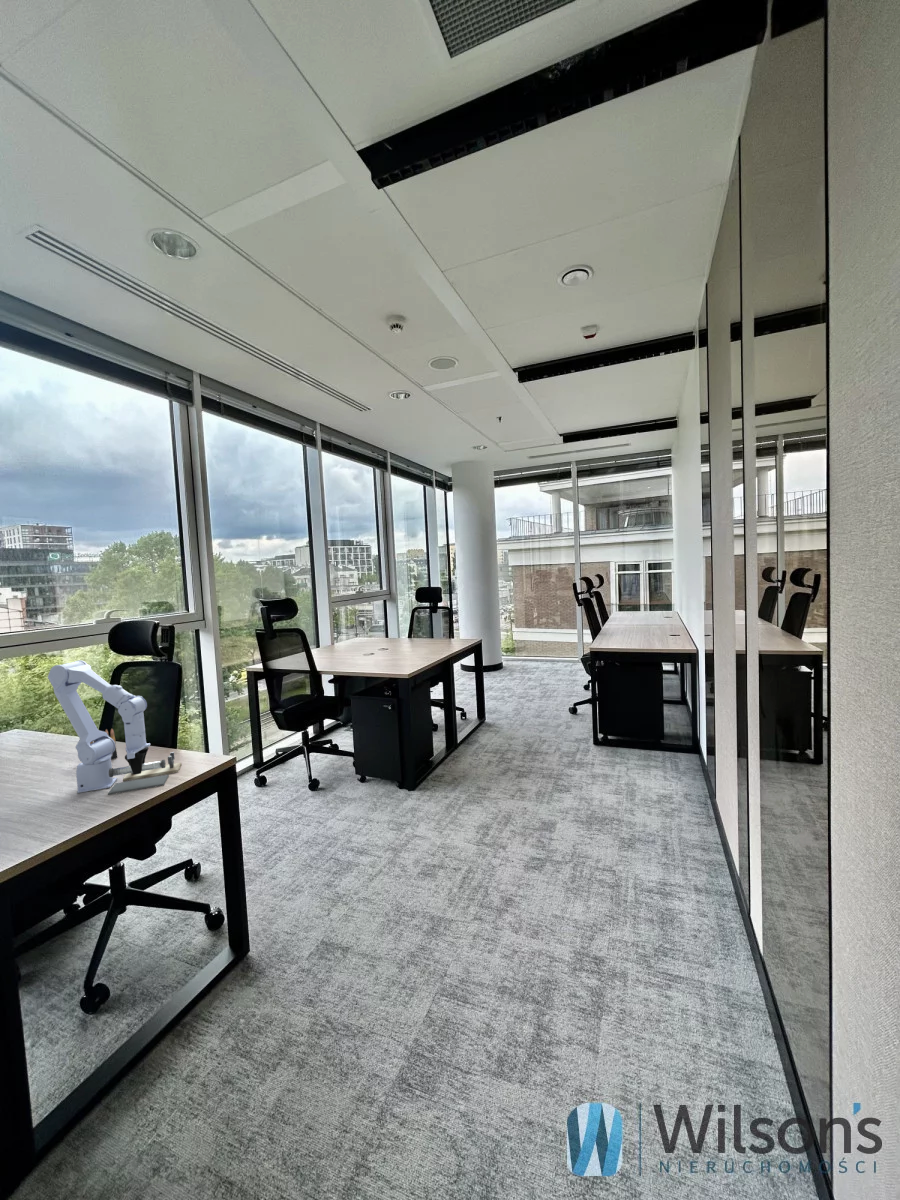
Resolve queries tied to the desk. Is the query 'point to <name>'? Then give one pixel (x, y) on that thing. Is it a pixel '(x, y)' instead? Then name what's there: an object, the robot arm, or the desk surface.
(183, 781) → the desk surface
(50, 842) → the desk surface
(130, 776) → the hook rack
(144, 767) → the rail
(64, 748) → the desk surface
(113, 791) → the rubber mat
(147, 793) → the desk surface
